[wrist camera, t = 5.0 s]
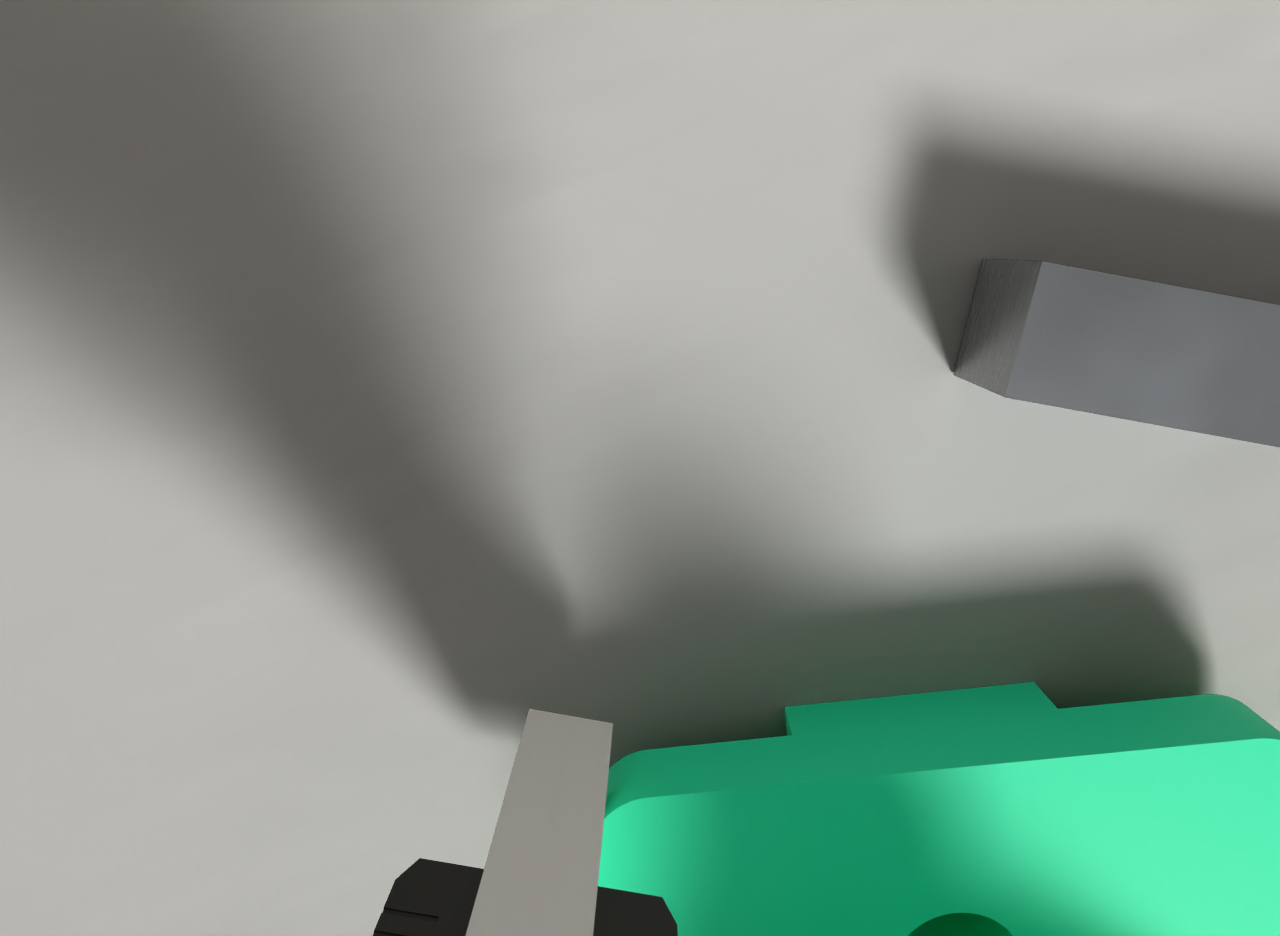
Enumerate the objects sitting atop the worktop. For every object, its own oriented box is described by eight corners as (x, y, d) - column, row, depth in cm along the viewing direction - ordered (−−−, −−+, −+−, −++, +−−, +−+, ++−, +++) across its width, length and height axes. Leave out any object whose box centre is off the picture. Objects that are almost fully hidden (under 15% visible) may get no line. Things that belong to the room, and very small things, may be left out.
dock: (744, 1185, 20) (762, 1373, 17) (983, 258, 16) (1072, 262, 12) (1322, 1278, 21) (1453, 1480, 17) (1720, 395, 16) (2003, 434, 13)
